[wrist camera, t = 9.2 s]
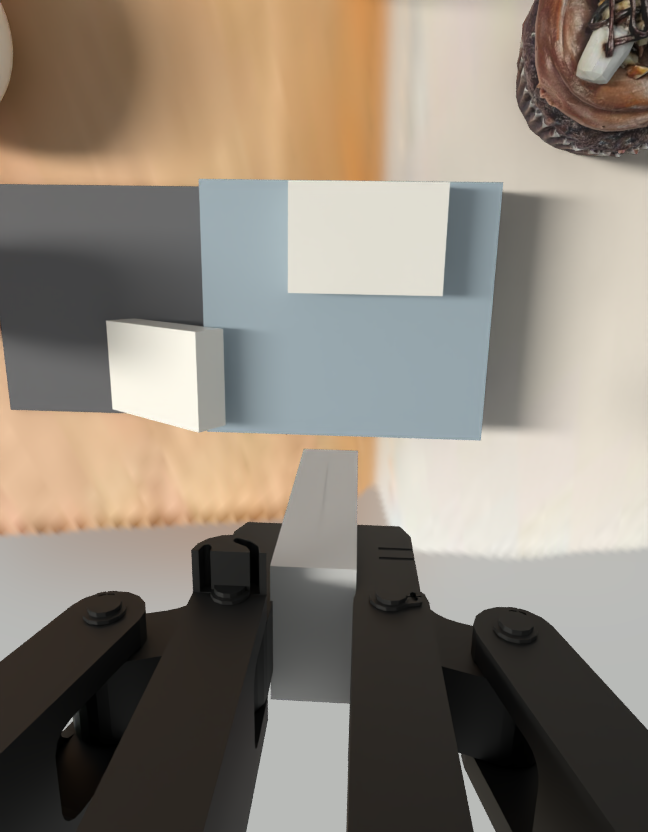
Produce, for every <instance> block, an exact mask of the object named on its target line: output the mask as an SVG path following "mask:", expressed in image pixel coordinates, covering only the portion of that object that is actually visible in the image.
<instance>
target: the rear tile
mask: <svg viewBox="0 0 648 832" xmlns="http://www.w3.org/2000/svg"><path fill="white" fill-rule="evenodd" d="M106 327H107V341H108V354H109V368H110V381H111V395H112V408H113V409H114V410H117V411H121V412H125V413H128V414H132V415H136V416H139V417H143V418H147V419H151V420H154V421H158V422H162V423H165V424H169V425H173V426H176V427H180V428H184V429H187V430H191V431H195V432H203V431H206V430H210V429H214V428H217V427H221V426H224V425H226V420H225V381H224V342H223V329H220V328H212V327H203V326H195V325H186V324H178V323H169V322H161V321H152V320H144V319H135V318H133V319H120V320H107V321H106Z"/></svg>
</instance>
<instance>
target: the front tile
mask: <svg viewBox="0 0 648 832" xmlns="http://www.w3.org/2000/svg"><path fill="white" fill-rule="evenodd" d="M449 191H450V182H387V181H299V180H288V293H313V294H361V295H410V296H443V283H444V267H445V252H446V237H447V222H448V207H449Z"/></svg>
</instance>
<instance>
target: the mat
mask: <svg viewBox="0 0 648 832" xmlns="http://www.w3.org/2000/svg"><path fill="white" fill-rule="evenodd" d="M133 318H135V319H144V320H152V321H161V322H169V323H178V324H186V325H195V326H203V327H204V321H203V291H202V261H201V231H200V201H199V187H195V186H111V185H28V184H0V322H1V330H2V339H3V347H4V356H5V364H6V373H7V381H8V390H9V398H10V407H11V410H39V411H72V412H104V413H125V412H121V411H117V410H114V409H113V408H112V395H111V381H110V368H109V354H108V341H107V327H106V321H107V320H120V319H133Z"/></svg>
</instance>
